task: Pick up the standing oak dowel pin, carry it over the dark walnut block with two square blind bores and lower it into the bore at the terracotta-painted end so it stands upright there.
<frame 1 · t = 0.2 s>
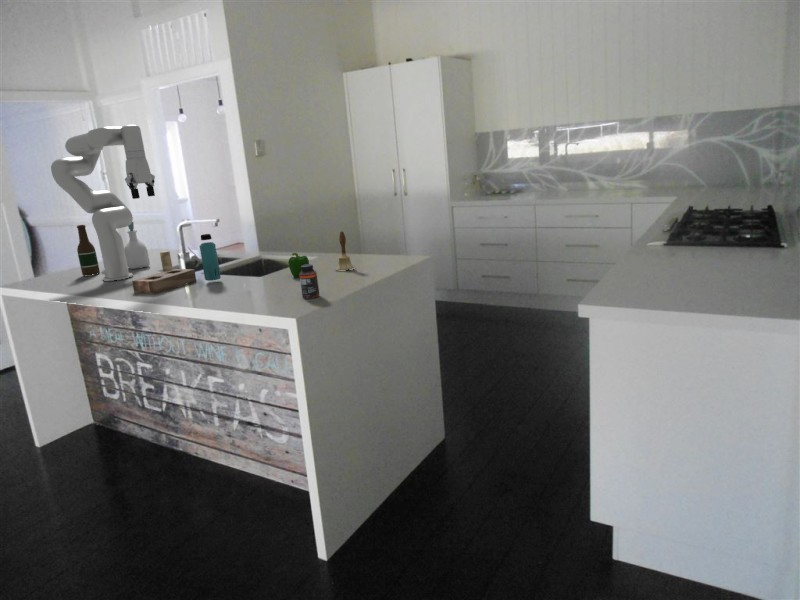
hand: (144, 197, 256), 36 cm above the countertop, tool pointing down, fingers open, 9 cm apart
hand bell: (345, 270, 252), on the countertop
beer bottle: (91, 275, 291), on the countertop
supplement bottle: (311, 297, 209), on the countertop
bore block: (166, 286, 247), on the countertop
beverage bottle: (213, 282, 248), on the countertop
soap bottle: (139, 267, 300), on the countertop
pin: (169, 279, 263), on the countertop
bell pepper: (299, 276, 247), on the countertop
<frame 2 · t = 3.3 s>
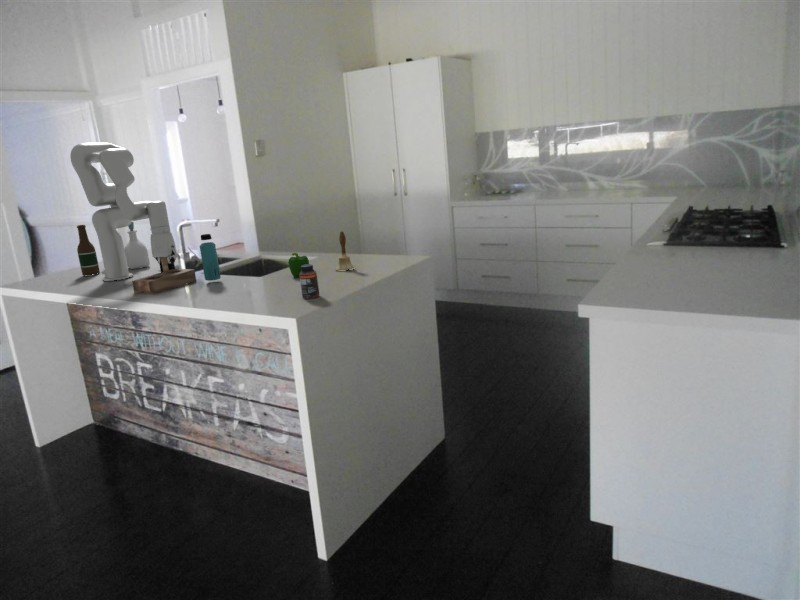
hand: (168, 271, 263), 3 cm above the countertop, tool pointing down, fingers closed on pin, 4 cm apart
pin: (169, 279, 263), on the countertop, touching gripper
everything else where it was.
when the fingers open (6 cm above the countertop, at t = 9.1 s): pin drops 1 cm, resting on bore block.
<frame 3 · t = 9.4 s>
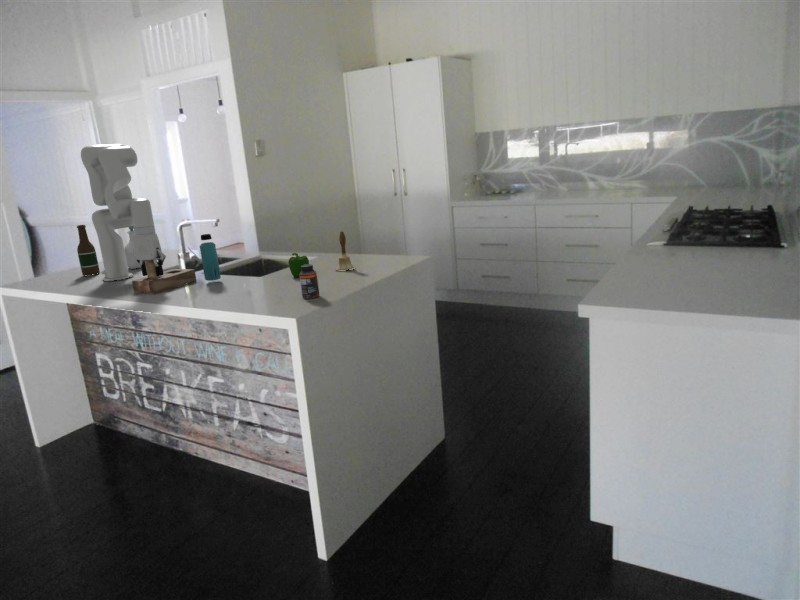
hand: (153, 275, 241), 6 cm above the countertop, tool pointing down, fingers open, 6 cm apart
pin: (155, 287, 242), point 1 cm above the countertop, touching bore block
everything else where it was.
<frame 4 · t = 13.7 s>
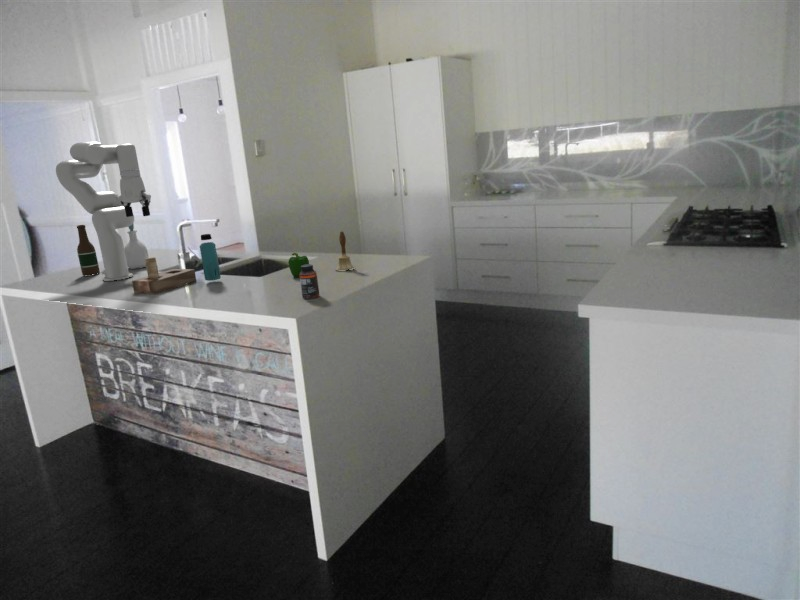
hand: (138, 216, 254), 28 cm above the countertop, tool pointing down, fingers open, 9 cm apart
nothing on the countertop moved.
at the end: pin 0.1 cm from the target spot on the bore block, point 1.0 cm above the bore block's base; pin tilted 0°; the gripper is holding nothing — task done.
